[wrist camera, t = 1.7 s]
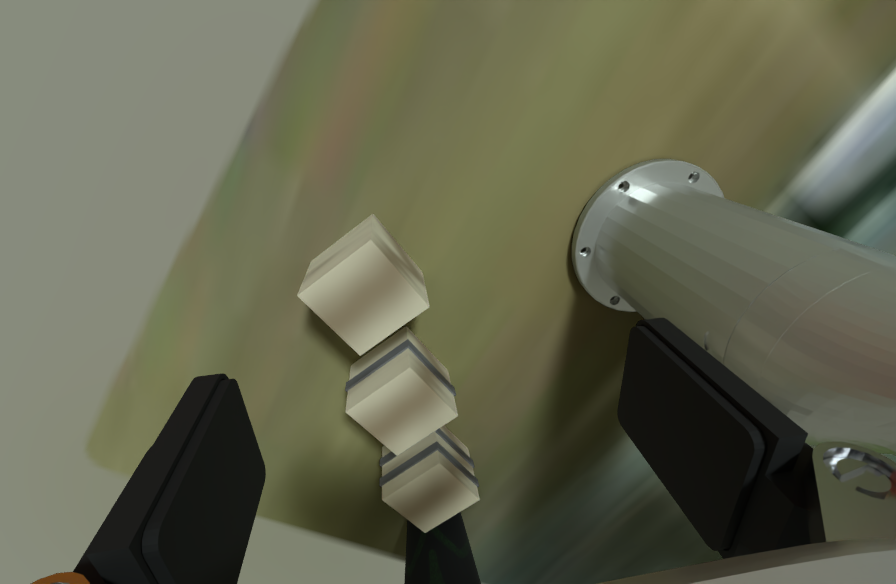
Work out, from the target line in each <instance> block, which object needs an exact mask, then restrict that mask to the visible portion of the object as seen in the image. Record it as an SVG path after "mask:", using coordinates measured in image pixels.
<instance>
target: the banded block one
mask: <svg viewBox="0 0 896 584" xmlns="http://www.w3.org/2000/svg"><path fill="white" fill-rule="evenodd" d="M345 391H346V392H348V395H347V403H346V413H347V414H348V415H349V416H351V417H352V418H353V419H354V420H355V421H357V422H358V423H359V424H360V425H361V426H362V427H364V428H365V429H366V430H367V431H368V432H369V433H371V434H372V435H373V436H374V437H375V438H376V439H378V440H379V441H380V442H381V443H382V444H384V445H385V446H386V447H387V448H388V449H389V450H391V451H392V452H393V453H394V454H395V455H396V456H398V455H399V454H401V453H402V452H404V451H405V450H407V449H408V448H410V447H411V446H413V445H414V444H416V443H418V442H419V441H421V440H422V439H424V438H425V437H427V436H428V435H430V434H431V433H433V432H434V431H436V430H437V429H439V428H440V427H442V426H443V425H445V424H446V423H448V422H450V421H451V420H453V419H454V418H456V417H457V416H458V413H457V409H456V404H455V400H454V396H455V395H456V393H455V389H454V387H453V386H452V385H451V382H450V377H449V373H448V370H447V369H446V368H445V367H444V366H443V365H442V364H441V362H440V361H439V360H438V359H437V358H436V357H435V356H434V355H433V354H432V353H431V352H430V351H429V350H428V349H427V347H426V346H425V345H424V344H423V343H422V342H421V341H420V340H419V339H418V338H417V337H416V336H415V335H414V334H413V333H412V331H411V330H410V329H409V328H408V327H407V326H405V327H404V328H402V329H401V330H400V331H398V332H397V333H395V334H394V335H393V336H391V337H390V338H388V339H387V340H386V341H384V342H383V343H381V344H380V345H379V346H377V347H376V348H374V349H373V350H372V351H370V352H369V353H367V354H366V355H365V356H363V357H362V358H360V359H359V360H358V361H356V362H355V363H353V364H352V365H351V369H350V378H349V381H348V382H346V388H345Z"/></svg>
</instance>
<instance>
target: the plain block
mask: <svg viewBox="0 0 896 584" xmlns="http://www.w3.org/2000/svg"><path fill="white" fill-rule="evenodd" d="M297 296H298V297H299V298H300V299H301V300H302V301H303V302H304V303H305V304H306V305H307V306H308V307H309V308H311V309H312V310H313V311H314V312H315V313H316V314H317V315H318V316H319V317H320V318H321V319H322V320H323V321H324V322H325V323H326V324H327V325H328V326H329V327H330V328H331V329H332V330H334V331H335V332H336V333H337V334H338V335H339V336H340V337H341V338H342V339H343V340H344V341H345V342H346V343H347V344H348V345H349V346H350V347H351V348H352V349H353V350H354V351H355V352H357V353H358V354H359V355H360V356H361V355H362V354H364V353H365V352H367V351H368V350H369V349H371V348H372V347H374V346H375V345H376V344H378V343H379V342H381V341H382V340H383V339H385V338H386V337H388V336H389V335H391V334H392V333H393V332H395V331H396V330H398V329H399V328H400V327H402V326H403V325H405V324H406V323H407V322H409V321H410V320H412V319H413V318H414V317H416V316H417V315H419V314H420V313H422V312H423V311H424V310H426V309H427V308H429V307H430V306H429V302H428V297H427V292H426V287H425V282H424V277H423V272H422V271H421V270H420V269H419V267H418V266H417V265H416V264H415V263H414V261H413V260H412V259H411V258H410V257H409V255H408V254H407V253H406V252H405V251H404V250H403V248H402V247H401V246H400V245H399V244H398V242H397V241H396V240H395V239H394V238H393V236H392V235H391V234H390V233H389V232H388V230H387V229H386V228H385V227H384V226H383V225H382V223H381V222H380V221H379V220H378V219H377V217H376V216H375V215H374V214H372V215H370V216H369V217H368V218H367V219H365V220H364V221H363V222H361V223H360V224H359V225H357V226H356V227H355V228H354V229H352V230H351V231H350V232H348V233H347V234H346V235H345V236H343V237H342V238H341V239H339V240H338V241H337V242H335V243H334V244H333V245H332V246H330V247H329V248H328V249H326V250H325V251H324V252H323V253H321V254H320V255H319V256H317V257H316V258H315V259H313V260H312V261H311V263H310V265H309V268H308V270H307V273H306V275H305V278H304V280H303V283H302V285H301V287H300V290H299V292H298V295H297Z"/></svg>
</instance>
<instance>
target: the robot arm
mask: <svg viewBox="0 0 896 584" xmlns="http://www.w3.org/2000/svg"><path fill="white" fill-rule="evenodd" d="M620 183H621V185H620V187H619V184H620ZM582 249H583V250H582ZM581 250H582V251H581ZM572 262H573V267H574V271H575V274H576V276H577V278H578V280H579V282H580V284H581V285H582V286H583V288H584V289H585V290H586V291H587V292H588V293H589V294H590V295H591V296H592V297H593V298H594V299H595V300H596V301H598V302H599V303H601V304H603V305H604V306H606V307H609V308H612V309H615V310H618V311H627V312H636V311H637V312H638V313H639V314H640V315H641V316H642V317H644V318H645V319H646V320H640V321H638V323H637V324H636V327H633V328H632V329H631V331H630V336H629V342H628V348H627V355H626V361H625V367H624V374H623V380H622V386H621V392H620V399H619V405H618V419H619V422H620V424H621V426H622V427H623V429H624V430H625V432H626V433H627V434H628V436H629V437H630V439H631V440H632V441H633V443H634V444H635V446H636V447H637V448H638V450H639V451H640V452H641V454H642V455H643V457H644V458H645V459H646V461H647V462H648V464H649V465H650V466H651V468H652V469H653V471H654V472H655V473H656V475H657V476H658V478H659V479H660V480H661V482H662V483H663V484H664V486H665V487H666V489H667V490H668V491H669V493H670V494H671V496H672V497H673V498H674V500H675V501H676V503H677V504H678V505H679V507H680V508H681V509H682V511H683V512H684V514H685V515H686V516H687V518H688V519H689V521H690V522H691V523H692V525H693V526H694V528H695V529H696V530H697V532H698V533H699V535H700V536H701V537H702V539H703V540H704V541H705V543H706V544H707V545H708V546H709V547H710V548H711V549H712V550H715V551H718V552H719V553H720V555H721V556H722V557H723V559H721V560H716V561H711V562H706V563H700V564H695V565H690V566H685V567H680V568H675V569H669V570H664V571H659V572H654V573H649V574H644V575H638V576H633V577H628V578H623V579H618V580H613V581H607V582H602V583H597V584H896V463H895V462H894V461H892V460H891V459H889V458H887V457H885V456H883V455H881V454H892V455H894V456H896V255H893V254H890V253H886V252H883V251H880V250H877V249H874V248H871V247H868V246H865V245H862V244H859V243H856V242H853V241H850V240H847V239H844V238H841V237H838V236H835V235H832V234H829V233H826V232H823V231H820V230H817V229H814V228H811V227H808V226H805V225H802V224H799V223H796V222H793V221H790V220H787V219H784V218H781V217H778V216H775V215H772V214H769V213H766V212H763V211H760V210H757V209H754V208H752V207H749V206H746V205H743V204H740V203H737V202H734V201H731V200H728V199H725V198H724V196H723V193H722V191H721V189H720V187H719V185H718V184H717V182H716V181H715V180H714V179H713V178H712V177H711V176H710V174H709V173H707V172H706V171H704V170H703V169H701V168H699V167H698V166H696V165H693V164H690V163H687V162H684V161H678V160H673V159H654V160H649V161H645V162H641V163H638V164H636V165H633V166H631V167H629V168H626V169H624V170H623V171H621V172H620V173H618V174H616V175H615V176H613V177H612V178H610V179H609V180H608V181H607V182H606V183H605V184H604V185H603V186H602V187H600V188H599V189H598V190H597V192H596V193H595V194H594V195H593V197H592V198H591V199H590V200H589V202H588V203H587V205H586V206H585V208H584V210H583V212H582V213H581V215H580V217H579V220H578V222H577V225H576V228H575V231H574V235H573V241H572ZM809 445H811V446H815V448H814V449H813V448H811V447H810V446H809ZM265 475H266V474H265V465H264V461H263V458H262V455H261V452H260V449H259V446H258V443H257V440H256V437H255V434H254V431H253V428H252V425H251V422H250V419H249V416H248V413H247V410H246V407H245V404H244V401H243V398H242V395H241V392H240V389H239V386H238V383H237V381H236V380H235V379H228V377H227V376H226V374H215V375H207V376H199V377H195V378H194V379H193V380H192V382H191V383H190V385H189V387H188V388H187V390H186V392H185V393H184V395H183V397H182V398H181V400H180V402H179V403H178V405H177V406H176V408H175V410H174V411H173V413H172V415H171V416H170V418H169V420H168V421H167V423H166V424H165V426H164V428H163V429H162V431H161V433H160V434H159V436H158V438H157V439H156V441H155V443H154V444H153V446H152V447H151V448H150V449H149V450H148V451H147V452H146V454H145V456H144V457H143V459H142V460H141V462H140V464H139V465H138V467H137V469H136V470H135V472H134V473H133V475H132V477H131V478H130V480H129V482H128V483H127V485H126V486H125V488H124V490H123V491H122V493H121V495H120V496H119V498H118V499H117V501H116V503H115V504H114V506H113V508H112V509H111V511H110V512H109V514H108V516H107V517H106V519H105V521H104V522H103V524H102V525H101V527H100V529H99V530H98V532H97V534H96V535H95V537H94V538H93V540H92V542H91V543H90V545H89V547H88V548H87V550H86V551H85V553H84V555H83V556H82V558H81V560H80V561H79V563H78V565H77V566H76V568H75V569H74V571H73V572H64V573H56V574H53V575H50V576H47V577H45V578H41V579H39V580H37V581H35V582H33V583H31V584H237V581H238V577H239V574H240V570H241V566H242V563H243V559H244V556H245V552H246V548H247V545H248V541H249V537H250V534H251V530H252V526H253V523H254V519H255V516H256V512H257V508H258V505H259V501H260V497H261V494H262V490H263V486H264V483H265Z"/></svg>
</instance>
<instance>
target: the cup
mask: <svg viewBox="0 0 896 584" xmlns="http://www.w3.org/2000/svg"><path fill="white" fill-rule="evenodd" d="M405 565H406V567H405V584H481V582H480V579H479V575H478V572H477V568H476V565H475V561H474V558H473V554H472V551H471V547H470V544H469V540H468V537H467V533H466V530H465V526H464V523H463V519H462V516H461V512H459V513H457V514H456V515H454V516H452V517H451V518H449V519H447V520H446V521H444V522H443V523H441V524H439V525H438V526H436V527H434V528H433V529H431V530H429V531H428V532H426V533H424V532H423V531H422V530H420V529H419V528H418V527H417V526H415V525H414V524H413V523H411V522H410V521H409V520H408V521H407V542H406V564H405Z"/></svg>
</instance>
